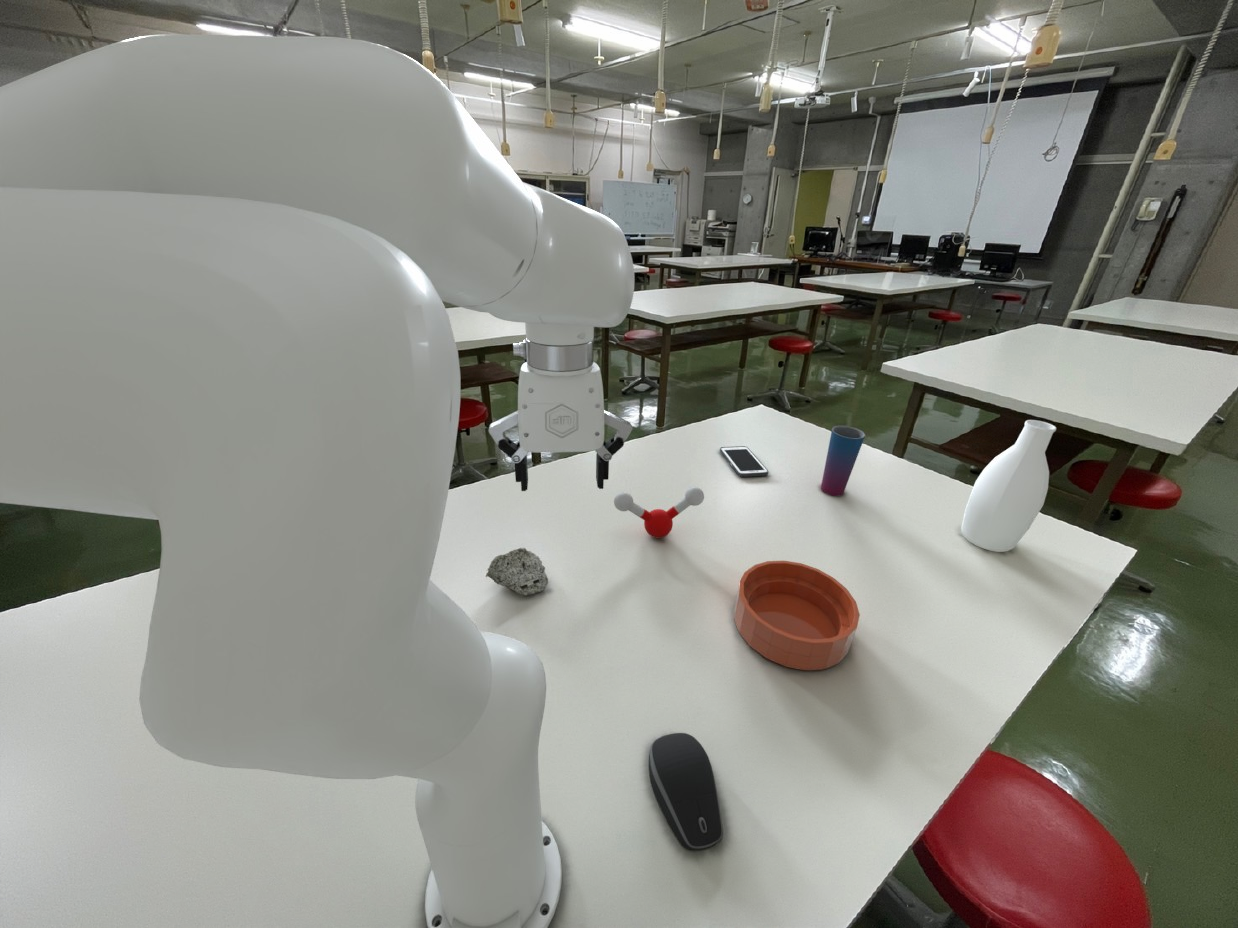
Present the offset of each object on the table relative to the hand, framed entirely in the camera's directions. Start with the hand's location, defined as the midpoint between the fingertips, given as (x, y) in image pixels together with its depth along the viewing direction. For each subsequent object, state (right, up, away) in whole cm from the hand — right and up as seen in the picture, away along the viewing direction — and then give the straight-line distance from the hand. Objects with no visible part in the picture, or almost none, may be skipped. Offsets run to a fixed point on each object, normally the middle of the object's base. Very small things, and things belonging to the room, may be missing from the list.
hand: (562, 484), depth 64 cm
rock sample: (-9, -18, +21) cm, 29 cm away
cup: (+57, -4, +52) cm, 77 cm away
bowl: (+34, -23, +14) cm, 44 cm away
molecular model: (+15, -11, +34) cm, 39 cm away
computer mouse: (+15, -34, -8) cm, 38 cm away
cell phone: (+39, +3, +62) cm, 74 cm away
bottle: (+82, -13, +37) cm, 91 cm away
